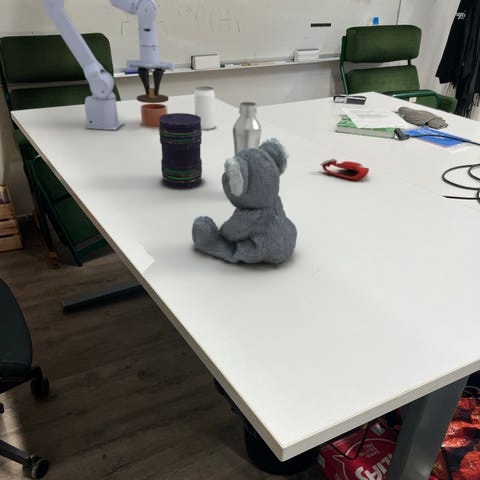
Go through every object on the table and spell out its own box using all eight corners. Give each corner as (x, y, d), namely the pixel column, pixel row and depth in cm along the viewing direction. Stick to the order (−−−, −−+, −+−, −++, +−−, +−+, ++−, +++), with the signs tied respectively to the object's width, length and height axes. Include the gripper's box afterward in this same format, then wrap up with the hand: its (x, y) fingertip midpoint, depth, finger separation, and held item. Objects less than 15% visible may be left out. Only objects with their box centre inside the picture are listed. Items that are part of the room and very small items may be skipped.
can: (213, 130, 157) (214, 90, 150) (194, 129, 157) (193, 89, 150) (215, 125, 162) (215, 86, 155) (196, 124, 162) (195, 85, 155)
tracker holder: (355, 162, 131) (379, 165, 123) (351, 179, 133) (374, 183, 124) (318, 155, 126) (340, 158, 118) (315, 173, 127) (336, 176, 119)
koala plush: (243, 220, 101) (247, 124, 90) (315, 248, 92) (330, 145, 81) (185, 249, 90) (181, 143, 79) (260, 283, 81) (268, 169, 70)
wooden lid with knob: (132, 101, 149) (131, 91, 147) (141, 95, 157) (141, 84, 155) (164, 103, 148) (163, 93, 146) (171, 97, 156) (171, 86, 154)
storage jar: (209, 180, 120) (209, 117, 111) (188, 192, 113) (186, 126, 104) (176, 172, 124) (174, 110, 115) (154, 183, 116) (149, 119, 108)
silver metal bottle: (261, 191, 115) (267, 102, 103) (253, 201, 110) (258, 109, 98) (236, 187, 117) (239, 99, 105) (226, 197, 111) (228, 105, 99)
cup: (138, 126, 157) (137, 108, 154) (145, 120, 164) (144, 102, 161) (164, 128, 157) (163, 110, 154) (170, 121, 164) (169, 104, 160)
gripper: (121, 45, 141) (126, 95, 149) (169, 48, 140) (171, 98, 148) (128, 43, 146) (132, 91, 154) (175, 45, 145) (176, 94, 153)
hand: (152, 94), depth 151 cm, fingers closed on wooden lid with knob, 2 cm apart
